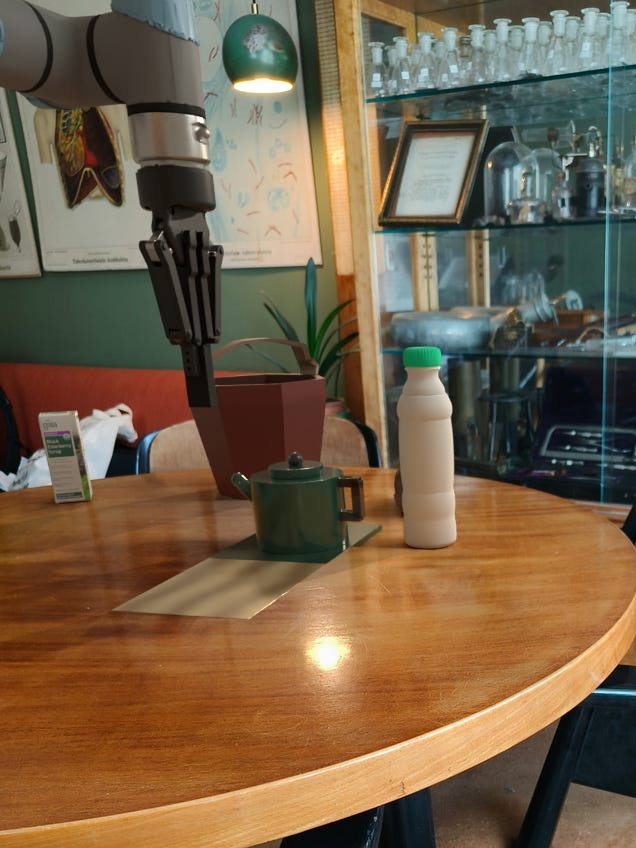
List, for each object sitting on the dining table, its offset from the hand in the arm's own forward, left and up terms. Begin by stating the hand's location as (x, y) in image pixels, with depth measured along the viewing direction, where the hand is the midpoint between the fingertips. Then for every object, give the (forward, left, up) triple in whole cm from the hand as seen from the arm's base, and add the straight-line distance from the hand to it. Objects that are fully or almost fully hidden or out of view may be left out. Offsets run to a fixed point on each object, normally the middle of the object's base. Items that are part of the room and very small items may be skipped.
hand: (203, 406), depth 98 cm
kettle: (+3, +15, -19) cm, 24 cm away
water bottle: (+20, +19, -20) cm, 34 cm away
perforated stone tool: (+11, +39, -20) cm, 45 cm away
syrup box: (-49, +37, -20) cm, 65 cm away
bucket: (-18, +49, -20) cm, 56 cm away
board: (+3, +5, -20) cm, 21 cm away
